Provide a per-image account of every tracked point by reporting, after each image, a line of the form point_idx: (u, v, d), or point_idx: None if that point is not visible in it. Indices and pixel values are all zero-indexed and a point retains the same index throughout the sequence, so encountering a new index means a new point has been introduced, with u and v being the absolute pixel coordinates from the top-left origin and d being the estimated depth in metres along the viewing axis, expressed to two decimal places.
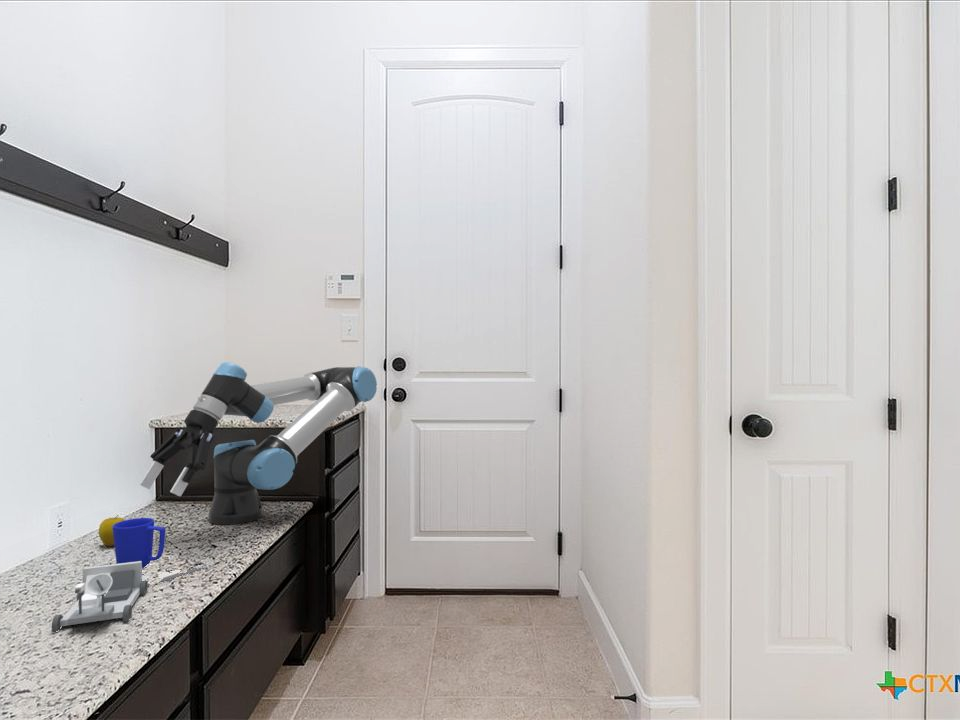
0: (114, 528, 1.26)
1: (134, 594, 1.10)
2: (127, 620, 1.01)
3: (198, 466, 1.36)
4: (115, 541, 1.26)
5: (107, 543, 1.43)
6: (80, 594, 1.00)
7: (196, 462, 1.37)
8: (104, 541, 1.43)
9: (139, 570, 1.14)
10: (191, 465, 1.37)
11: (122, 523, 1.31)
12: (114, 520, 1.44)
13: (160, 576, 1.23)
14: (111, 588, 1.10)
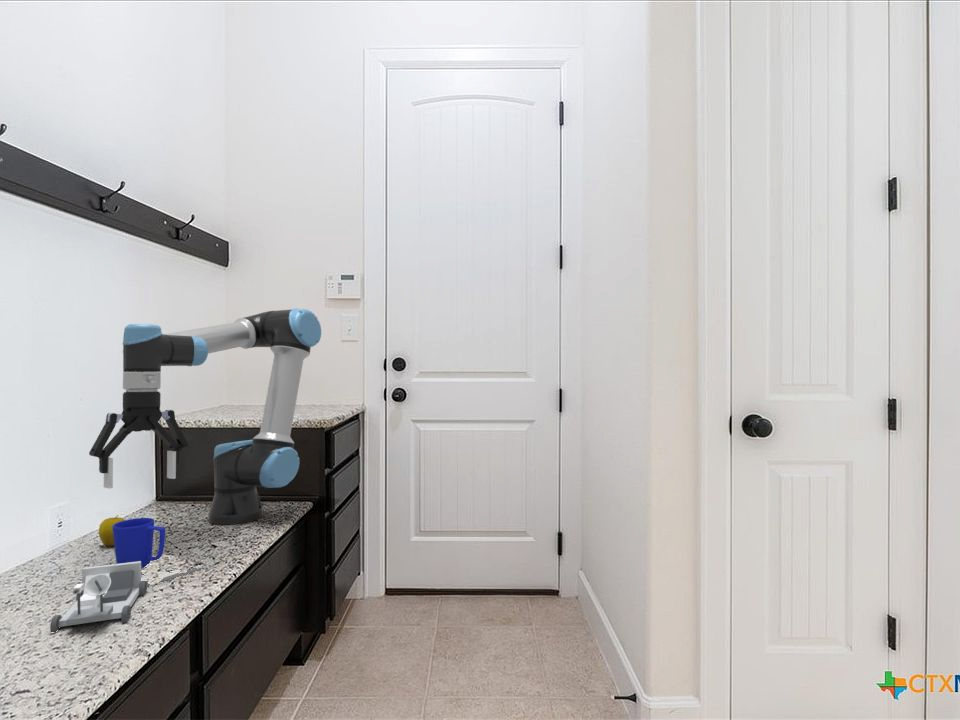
0: (114, 528, 1.26)
1: (133, 594, 1.10)
2: (126, 621, 1.01)
3: None
4: (115, 541, 1.26)
5: (107, 543, 1.43)
6: (79, 594, 0.99)
7: (185, 443, 1.37)
8: (104, 541, 1.43)
9: (138, 570, 1.13)
10: None
11: (122, 523, 1.31)
12: (114, 520, 1.44)
13: (160, 576, 1.23)
14: (110, 588, 1.10)
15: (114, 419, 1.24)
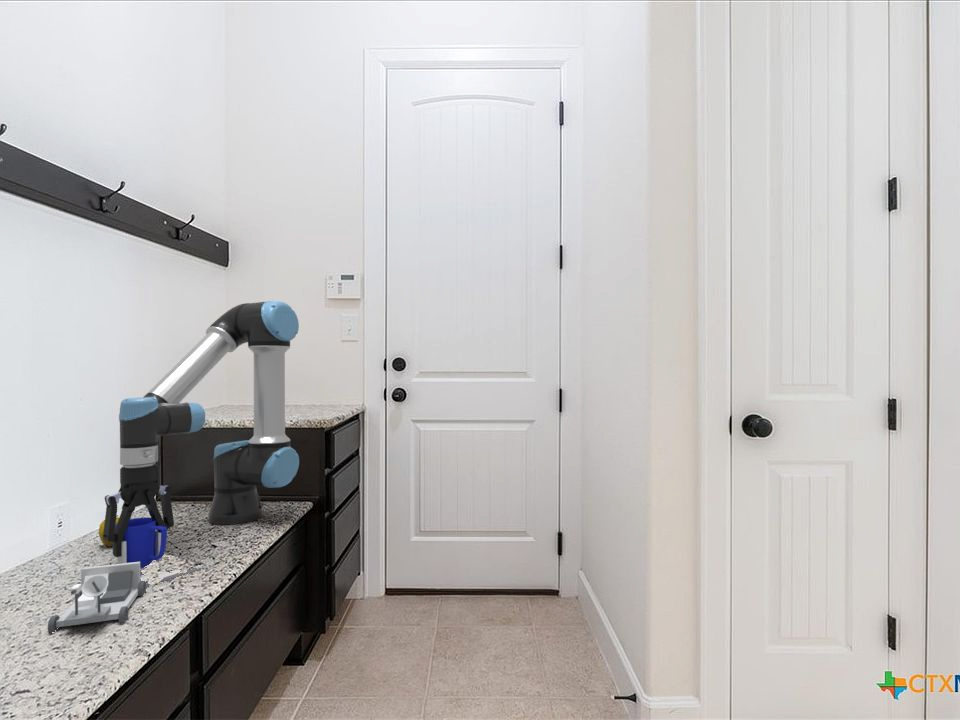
0: None
1: (132, 595, 1.10)
2: (123, 622, 1.01)
3: None
4: None
5: (107, 543, 1.43)
6: (76, 595, 0.99)
7: (172, 523, 1.34)
8: (104, 541, 1.43)
9: (137, 571, 1.13)
10: None
11: None
12: None
13: (160, 576, 1.23)
14: (109, 589, 1.09)
15: (114, 502, 1.24)
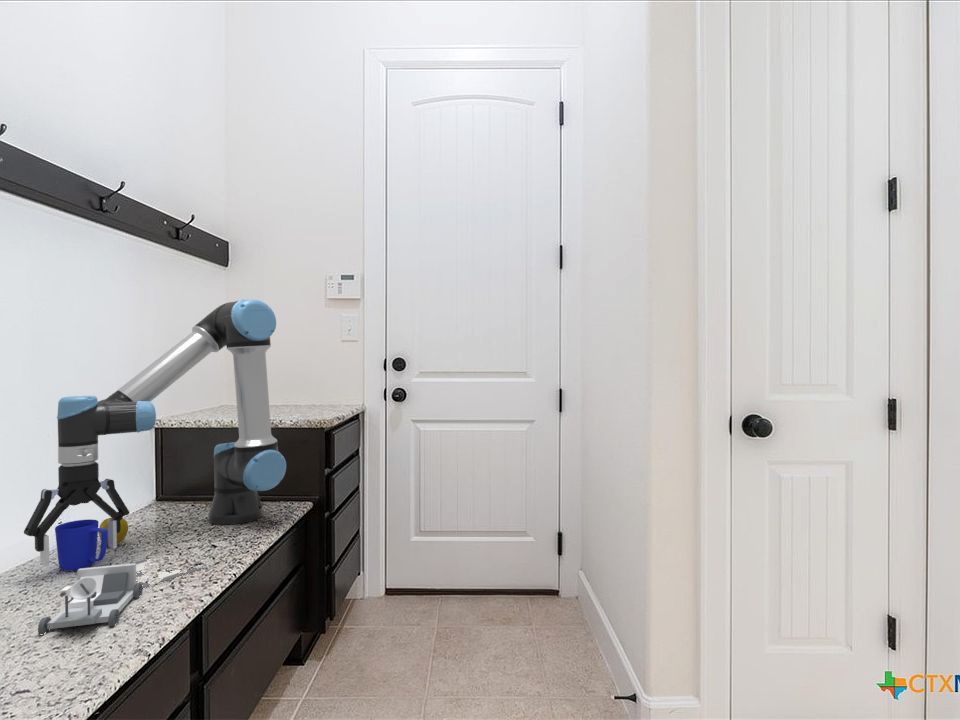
0: (56, 530, 1.27)
1: (126, 597, 1.09)
2: (113, 625, 1.00)
3: None
4: (57, 542, 1.27)
5: (107, 543, 1.43)
6: (66, 597, 0.98)
7: (126, 511, 1.36)
8: None
9: (133, 572, 1.12)
10: None
11: (66, 524, 1.31)
12: None
13: (160, 576, 1.23)
14: (104, 590, 1.09)
15: (49, 496, 1.23)
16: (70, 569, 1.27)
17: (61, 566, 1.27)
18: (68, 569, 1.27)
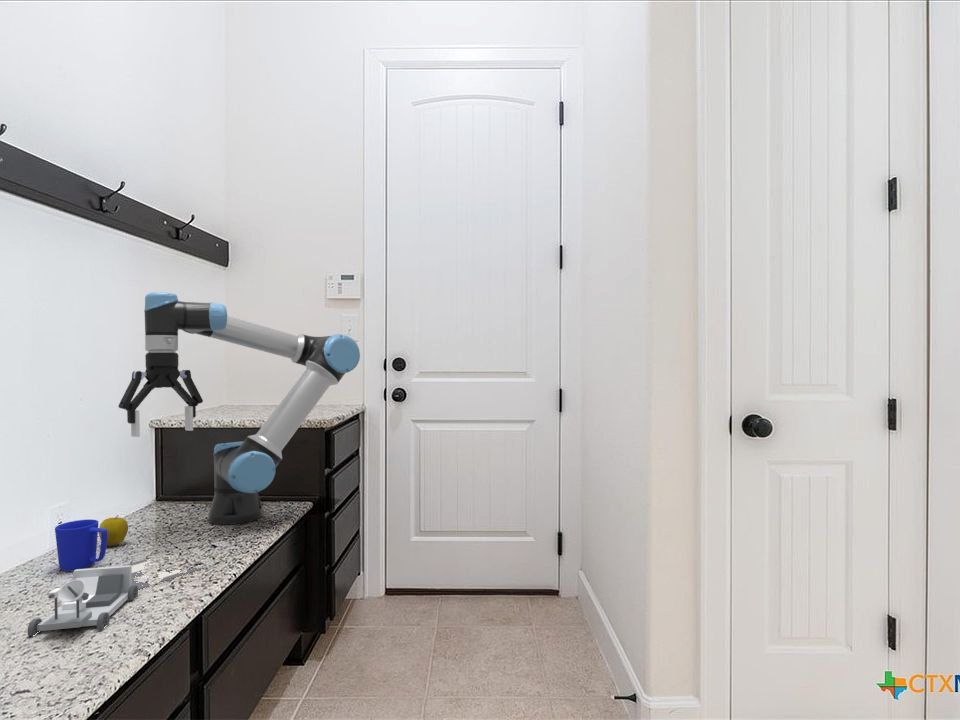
0: (56, 530, 1.27)
1: (119, 600, 1.08)
2: (101, 628, 0.98)
3: None
4: (57, 542, 1.27)
5: (107, 543, 1.43)
6: (56, 599, 0.98)
7: (200, 399, 1.54)
8: None
9: (128, 574, 1.11)
10: None
11: (66, 524, 1.31)
12: (114, 520, 1.44)
13: (160, 576, 1.23)
14: (98, 592, 1.08)
15: (139, 376, 1.41)
16: (70, 569, 1.27)
17: (61, 566, 1.27)
18: (68, 569, 1.27)
